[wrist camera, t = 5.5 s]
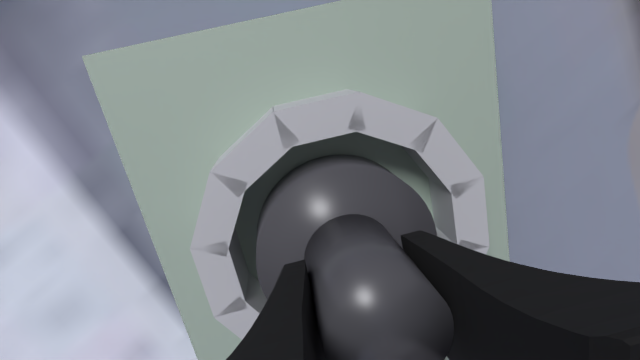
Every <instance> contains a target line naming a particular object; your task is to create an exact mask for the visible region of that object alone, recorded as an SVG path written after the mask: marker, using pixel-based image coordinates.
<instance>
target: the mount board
mask: <svg viewBox="0 0 640 360" xmlns="http://www.w3.org/2000/svg"><path fill="white" fill-rule="evenodd" d="M82 58H83V61H84V64H85V66H86V69H87V72H88V74H89V77H90V79H91V82H92V85H93V87H94V90H95V92H96V95H97V98H98V100H99V103H100V106H101V108H102V111H103V113H104V116H105V119H106V121H107V124H108V126H109V129H110V132H111V134H112V137H113V139H114V142H115V145H116V147H117V150H118V153H119V155H120V158H121V160H122V163H123V166H124V168H125V171H126V173H127V176H128V179H129V181H130V184H131V186H132V189H133V192H134V194H135V197H136V200H137V202H138V205H139V207H140V210H141V213H142V215H143V218H144V220H145V223H146V226H147V228H148V231H149V233H150V236H151V239H152V241H153V244H154V247H155V249H156V252H157V254H158V257H159V260H160V262H161V265H162V267H163V270H164V273H165V275H166V278H167V280H168V283H169V286H170V288H171V291H172V294H173V296H174V299H175V301H176V304H177V307H178V309H179V312H180V314H181V317H182V320H183V322H184V325H185V327H186V330H187V333H188V335H189V338H190V341H191V343H192V346H193V348H194V351H195V354H196V356H197V359H198V360H226V359H227V358H228V357H229V356H230V354H231V353H232V352H233V351H234V350H235V348H236V347H237V346H238V345H239V343H240V342H241V341H242V340H243V338H244V337H245V336H246V334H247V333H248V331H249V330H250V328H251V327H252V325H253V324H254V322H255V320H256V319H257V317H258V315H259V314H260V312H261V311H262V309H263V307H264V305H265V303H266V302H267V299H266V297H265V295H264V293H263V291H262V288H261V286H260V283H259V279H258V275H257V268H256V239H257V224H258V219H259V215H260V212H261V209H262V206H263V204H264V202H265V200H266V198H267V196H268V194H269V193H270V192H271V190H272V189H273V188H274V186H275V185H276V184H277V183H278V182H279V181H280V180H281V179H282V178H283V177H284V176H285V175H286V174H288V173H289V172H290V171H291V170H293V169H294V168H296V167H298V166H299V165H301V164H303V163H305V162H308V161H310V160H313V159H316V158H319V157H323V156H328V155H339V154H345V155H355V156H359V157H364V158H367V159H369V160H372V161H374V162H376V163H378V164H380V165H382V166H383V167H385V168H386V169H387V170H389V171H390V172H392V173H393V174H394V175H396V176H397V177H398V178H400V179H401V180H402V181H404V182H405V183H406V184H408V185H409V186H410V187H412V188H413V189H414V190H415V191H416V192H417V193H418V194H419V195H420V197H421V198H422V199H423V201H424V202H425V203H426V205H427V207H428V209H429V210H430V212H431V214H432V217H433V220H434V223H435V227H436V232H437V236H438V237H440V238H443V239H445V240H448V241H451V242H453V243H456V244H458V245H461V246H464V247H466V248H469V249H472V250H474V251H477V252H480V253H483V254H486V255H489V256H493V257H496V258H499V259H502V260H505V261H509V247H508V233H507V218H506V204H505V190H504V176H503V161H502V147H501V133H500V118H499V104H498V90H497V76H496V61H495V47H494V33H493V19H492V4H491V0H341V1H337V2H332V3H327V4H323V5H318V6H313V7H309V8H304V9H299V10H295V11H290V12H285V13H281V14H276V15H271V16H267V17H262V18H257V19H253V20H248V21H243V22H239V23H234V24H229V25H225V26H220V27H215V28H211V29H206V30H202V31H197V32H192V33H188V34H183V35H178V36H174V37H169V38H164V39H160V40H155V41H150V42H146V43H141V44H136V45H132V46H127V47H122V48H118V49H113V50H108V51H104V52H99V53H94V54H90V55H85V56H82ZM509 262H510V261H509ZM444 360H449V359H448V357H447V356H446V358H445V359H444Z"/></svg>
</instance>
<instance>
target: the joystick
mask: <svg viewBox="0 0 640 360" xmlns="http://www.w3.org/2000/svg"><path fill="white" fill-rule="evenodd" d="M419 230H421V231H424V232H427V233H430V234H433V235H435V236H437V232H436V227H435V223H434V220H433V217H432V214H431V212H430V210H429V209H428V207H427V205H426V203H425V202H424V201H423V199H422V198H421V197H420V195H419V194H418V193H417V192H416V191H415V190H414V189H413V188H412V187H410V186H409V185H408V184H406V183H405V182H404V181H402V180H401V179H400V178H398V177H397V176H396V175H394V174H393V173H392V172H390V171H389V170H387V169H386V168H385V167H383V166H382V165H380V164H378V163H376V162H374V161H372V160H369V159H367V158H364V157H359V156H355V155H345V154H339V155H328V156H323V157H319V158H316V159H313V160H310V161H308V162H305V163H303V164H301V165H299V166H298V167H296V168H294V169H293V170H291V171H290V172H289V173H288V174H286V175H285V176H284V177H283V178H282V179H281V180H280V181H279V182H278V183H277V184H276V185H275V186H274V188H273V189H272V190H271V192H270V193H269V194H268V196H267V198H266V200H265V202H264V204H263V206H262V209H261V212H260V215H259V219H258V224H257V239H256V268H257V275H258V279H259V283H260V286H261V288H262V291H263V293H264V295H265V297H266V299H267V300H268V298H269V296H270V294H271V292H272V290H273V288H274V286H275V284H276V282H277V279H278V277H279V275H280V272H281V270H282V268H283V266H284V265H285V264H289V263H293V262H297V261H301V260H304V259H305V263H306V267H307V271H308V275H309V281H310V286H311V291H312V297H313V305H314V311H315V316H316V320H317V325H318V329H319V333H320V338H321V342H322V346H323V351H324V355H325V360H444V359H445V358H446V356H447V354H448V352H449V350H450V347H451V345H452V341H453V336H454V321H453V316H452V313H451V310H450V308H449V306H448V304H447V303H446V301H445V300H444V299H443V298H442V296H441V295H440V294H439V293H438V292H437V290H436V289H435V288H434V287H433V285H432V284H431V283H430V282H429V281H428V279H427V278H426V277H425V276H424V274H423V273H422V272H421V271H420V270H419V268H418V267H417V266H416V265H415V263H414V262H413V261H412V260H411V259H410V257H409V256H408V255H407V254H406V252H405V251H404V250H403V248H402V242H401V235H403V234H407V233H411V232H415V231H419Z"/></svg>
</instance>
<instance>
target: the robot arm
mask: <svg viewBox="0 0 640 360" xmlns="http://www.w3.org/2000/svg"><path fill="white" fill-rule="evenodd" d="M401 242H402V248H403V250H404V251H405V252H406V254H407V255H408V256H409V257H410V259H411V260H412V261H413V262H414V263H415V265H416V266H417V267H418V268H419V270H420V271H421V272H422V273H423V274H424V276H425V277H426V278H427V279H428V281H429V282H430V283H431V284H432V285H433V287H434V288H435V289H436V290H437V292H438V293H439V294H440V295H441V296H442V298H443V299H444V300H445V301H446V303H447V304H448V306H449V308H450V310H451V313H452V316H453V321H454V336H453V341H452V345H451V347H450V350H449V352H448V354H447V357H448V359H449V360H640V282H628V281H616V280H606V279H598V278H589V277H583V276H576V275H570V274H563V273H557V272H552V271H547V270H542V269H538V268H533V267H529V266H525V265H520V264H516V263H513V262H509V261H505V260H502V259H499V258H496V257H493V256H489V255H486V254H483V253H480V252H477V251H474V250H472V249H469V248H466V247H464V246H461V245H458V244H456V243H453V242H451V241H448V240H445V239H443V238H440V237H438V236H435V235H433V234H430V233H427V232H424V231H421V230H419V231H415V232H411V233H407V234H403V235H401ZM226 360H325V355H324V351H323V346H322V342H321V338H320V333H319V329H318V325H317V320H316V316H315V311H314V305H313V297H312V291H311V286H310V281H309V275H308V271H307V267H306V263H305V259H304V260H301V261H297V262H293V263H289V264H285V265H284V266H283V268H282V270H281V272H280V275H279V277H278V279H277V282H276V284H275V286H274V288H273V290H272V292H271V294H270V296H269V298H268V300H267V302H266V303H265V305H264V307H263V309H262V311H261V312H260V314H259V315H258V317H257V319H256V320H255V322H254V324H253V325H252V327H251V328H250V330H249V331H248V333H247V334H246V336H245V337H244V338H243V340H242V341H241V342H240V343H239V345H238V346H237V347H236V348H235V350H234V351H233V352H232V353H231V354H230V356H229V357H228V358H227V359H226Z"/></svg>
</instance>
